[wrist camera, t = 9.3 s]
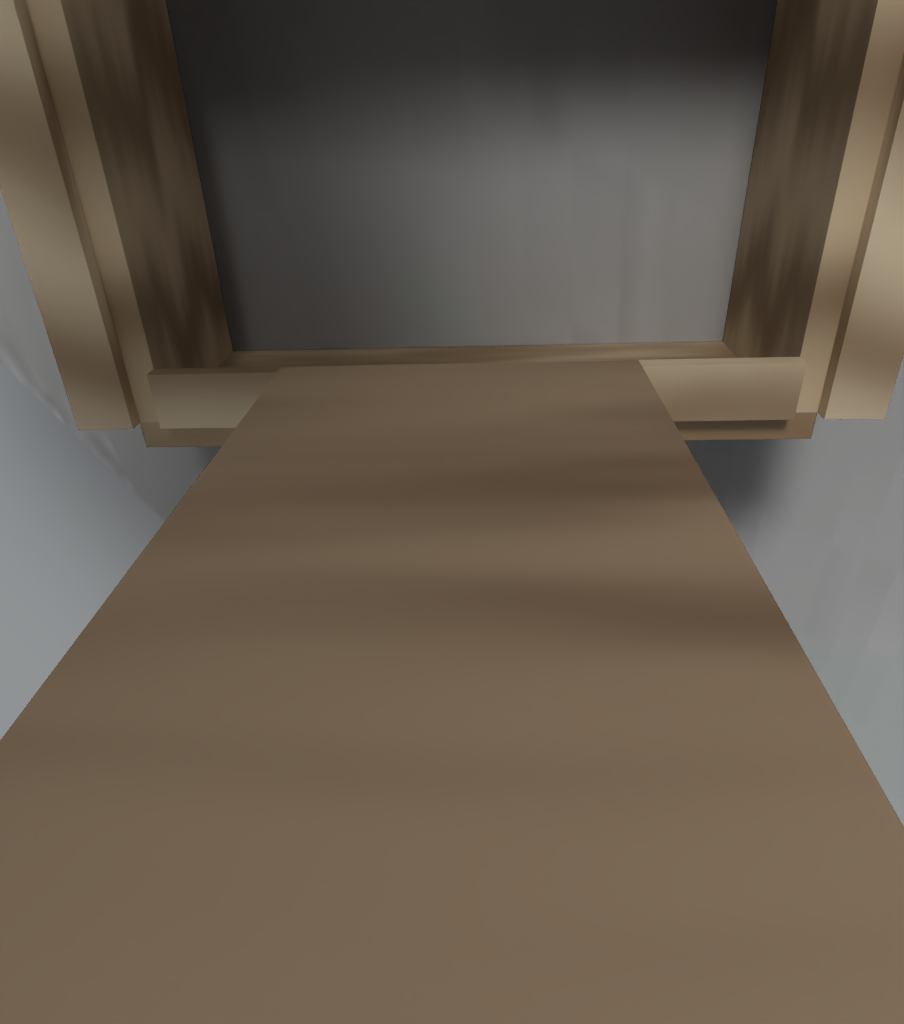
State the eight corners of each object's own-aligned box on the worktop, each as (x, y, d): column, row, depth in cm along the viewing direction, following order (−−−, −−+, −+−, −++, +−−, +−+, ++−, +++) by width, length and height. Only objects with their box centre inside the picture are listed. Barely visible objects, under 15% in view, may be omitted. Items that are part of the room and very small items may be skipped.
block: (280, 367, 12) (-828, 1840, 2) (638, 359, 12) (1619, 2087, 2) (345, 772, 17) (133, 1791, 7) (599, 774, 17) (776, 1848, 7)
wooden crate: (12, -304, 23) (-219, -492, 15) (941, -366, 21) (1186, -606, 14) (173, 373, 34) (86, 454, 26) (787, 362, 32) (876, 445, 25)
